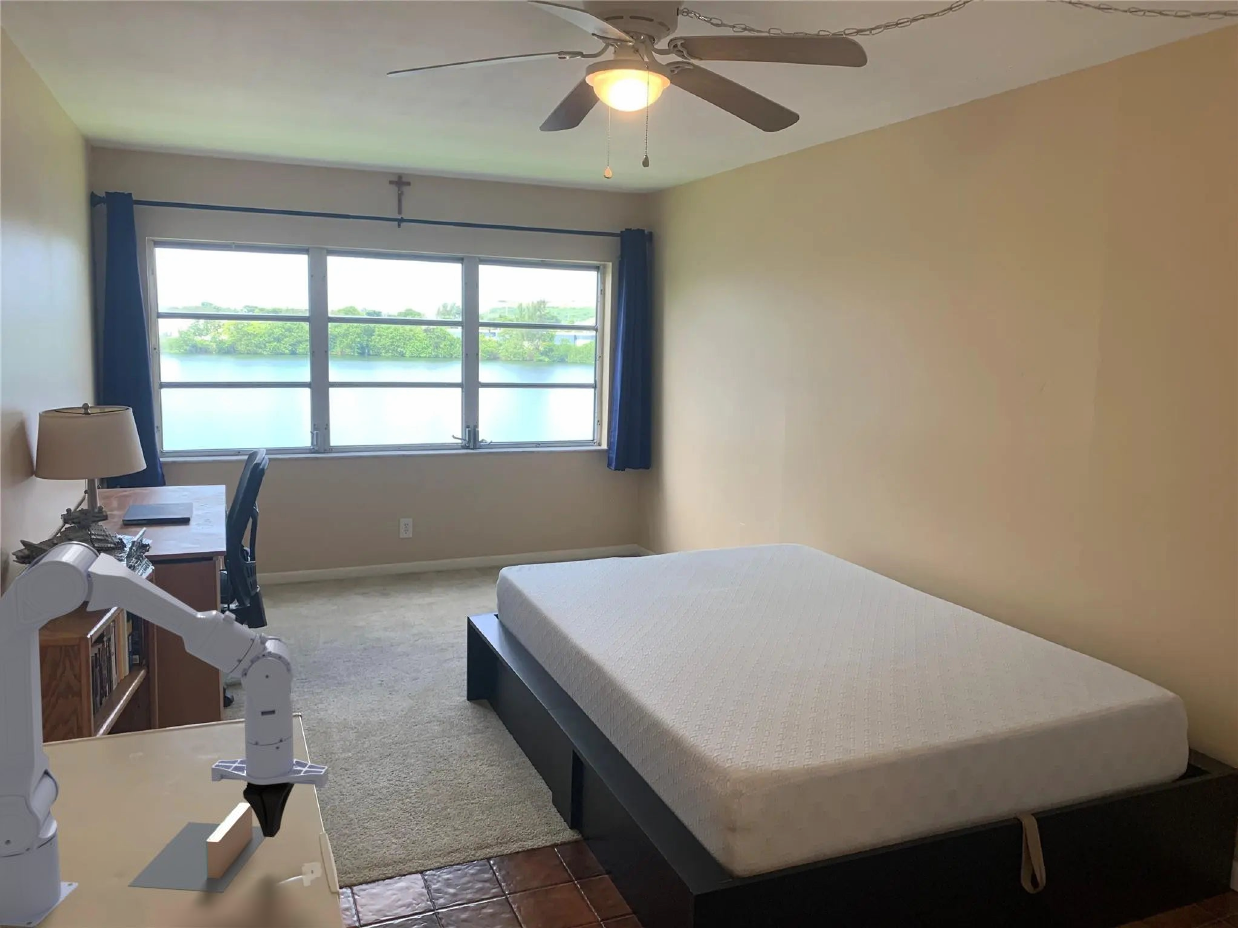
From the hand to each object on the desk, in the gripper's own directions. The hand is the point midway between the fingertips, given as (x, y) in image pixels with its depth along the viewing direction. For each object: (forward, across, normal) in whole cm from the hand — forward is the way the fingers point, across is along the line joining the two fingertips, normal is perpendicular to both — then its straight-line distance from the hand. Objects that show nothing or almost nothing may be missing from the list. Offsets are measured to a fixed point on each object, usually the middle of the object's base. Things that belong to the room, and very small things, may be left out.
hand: (271, 832), depth 112 cm
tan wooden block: (+4, +6, 0) cm, 7 cm away
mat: (+4, +9, 0) cm, 10 cm away
